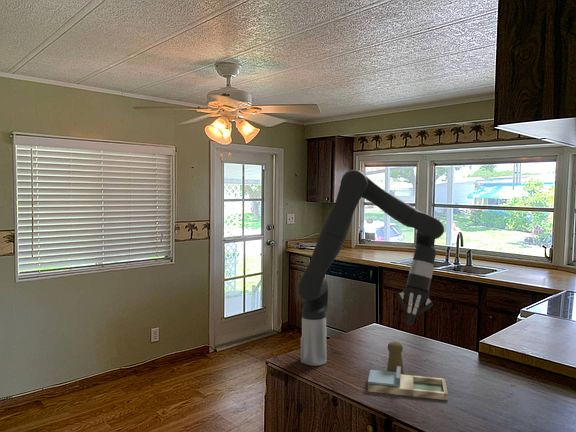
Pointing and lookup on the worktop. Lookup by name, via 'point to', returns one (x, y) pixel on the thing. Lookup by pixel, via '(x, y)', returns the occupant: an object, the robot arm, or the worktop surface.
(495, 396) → the worktop surface
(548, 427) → the worktop surface
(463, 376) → the worktop surface
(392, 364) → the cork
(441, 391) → the board
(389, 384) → the cover
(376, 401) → the worktop surface
